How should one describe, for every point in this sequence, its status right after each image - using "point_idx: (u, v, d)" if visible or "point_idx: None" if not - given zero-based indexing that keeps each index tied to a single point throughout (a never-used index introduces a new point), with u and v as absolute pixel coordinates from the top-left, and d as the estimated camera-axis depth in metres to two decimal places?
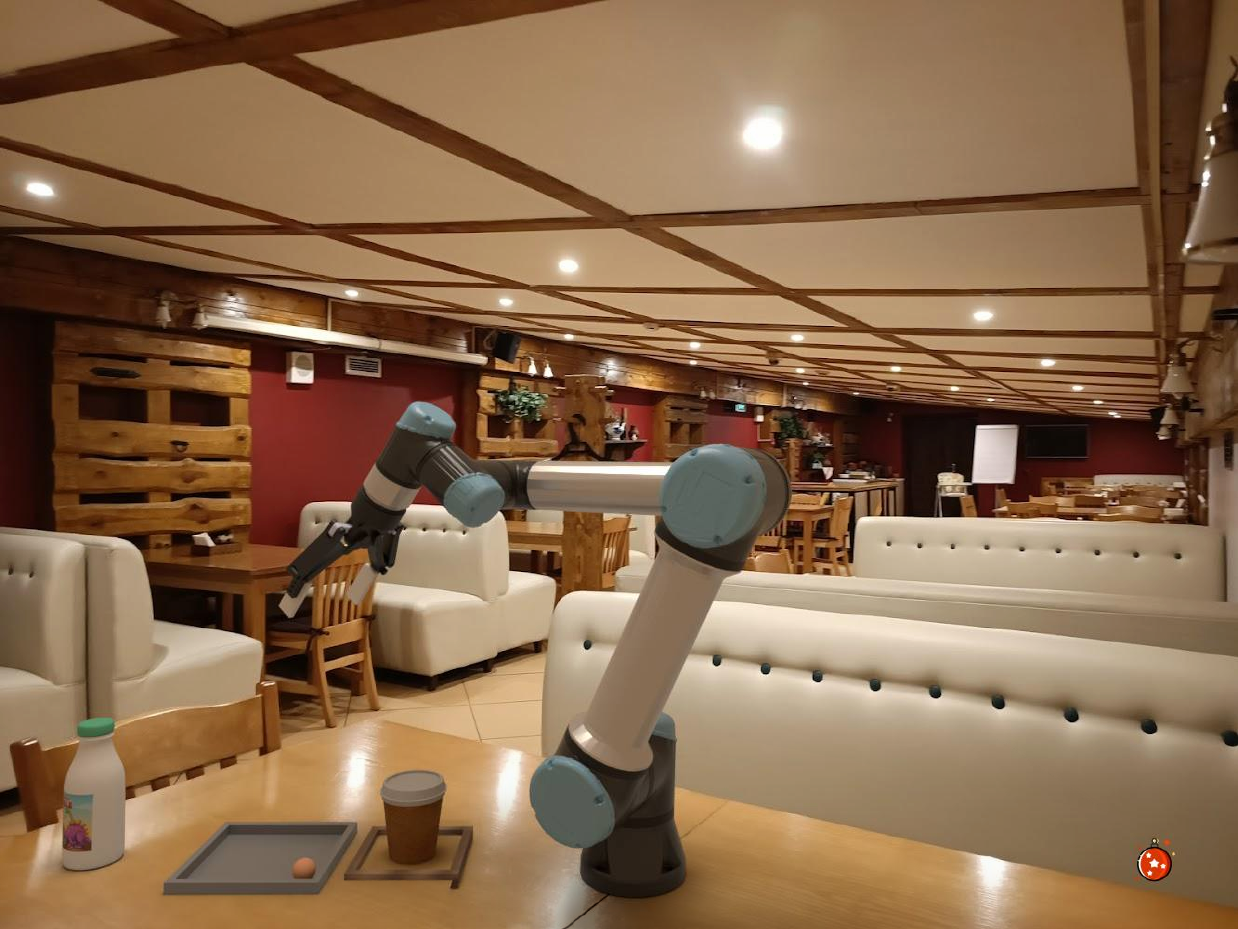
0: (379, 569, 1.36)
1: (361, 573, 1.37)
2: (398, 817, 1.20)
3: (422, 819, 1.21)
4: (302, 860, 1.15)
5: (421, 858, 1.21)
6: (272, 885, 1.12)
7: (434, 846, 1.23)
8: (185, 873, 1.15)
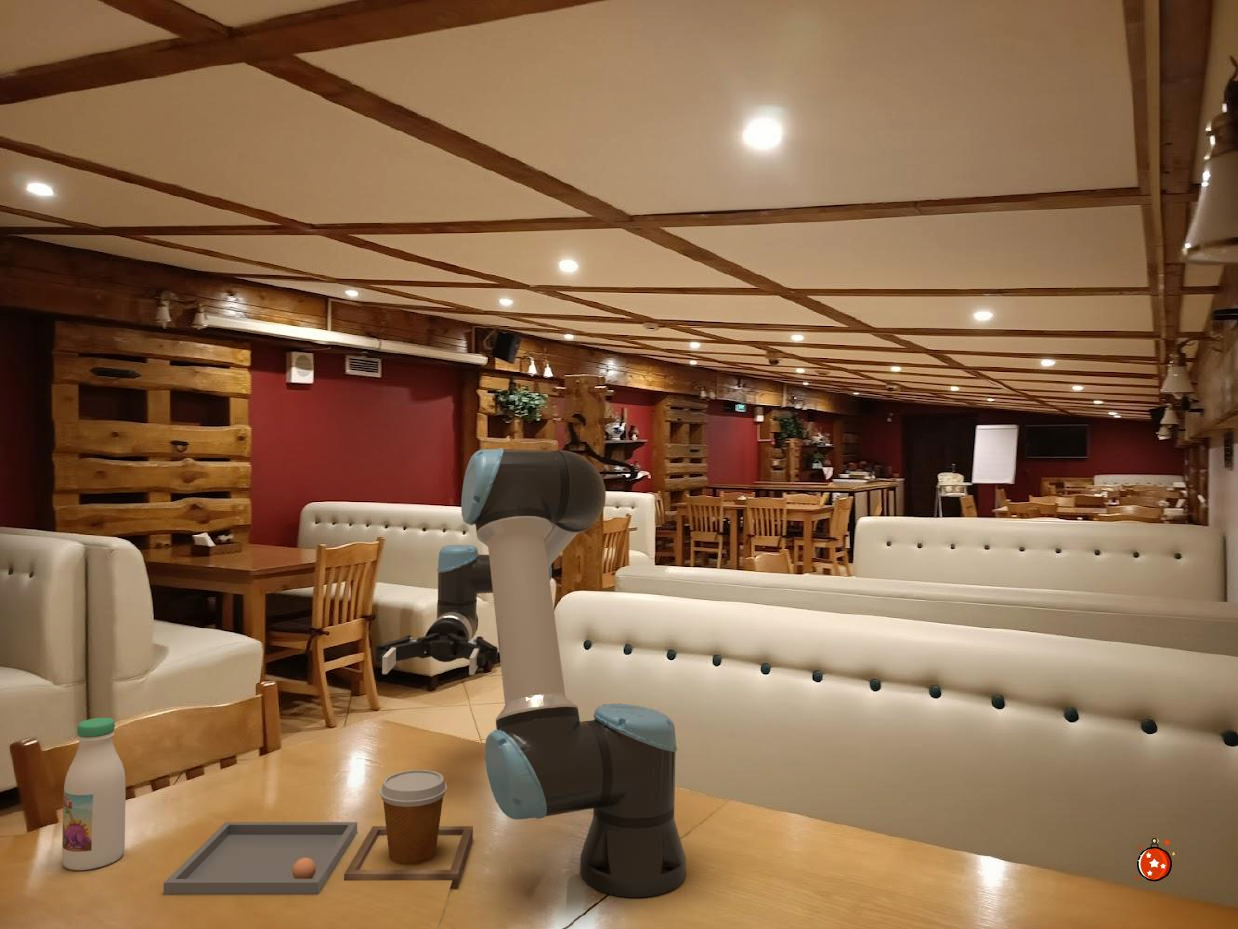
0: (479, 648, 1.42)
1: None
2: (398, 817, 1.20)
3: (422, 819, 1.21)
4: (302, 860, 1.15)
5: (421, 858, 1.21)
6: (272, 885, 1.12)
7: (434, 846, 1.23)
8: (185, 873, 1.15)
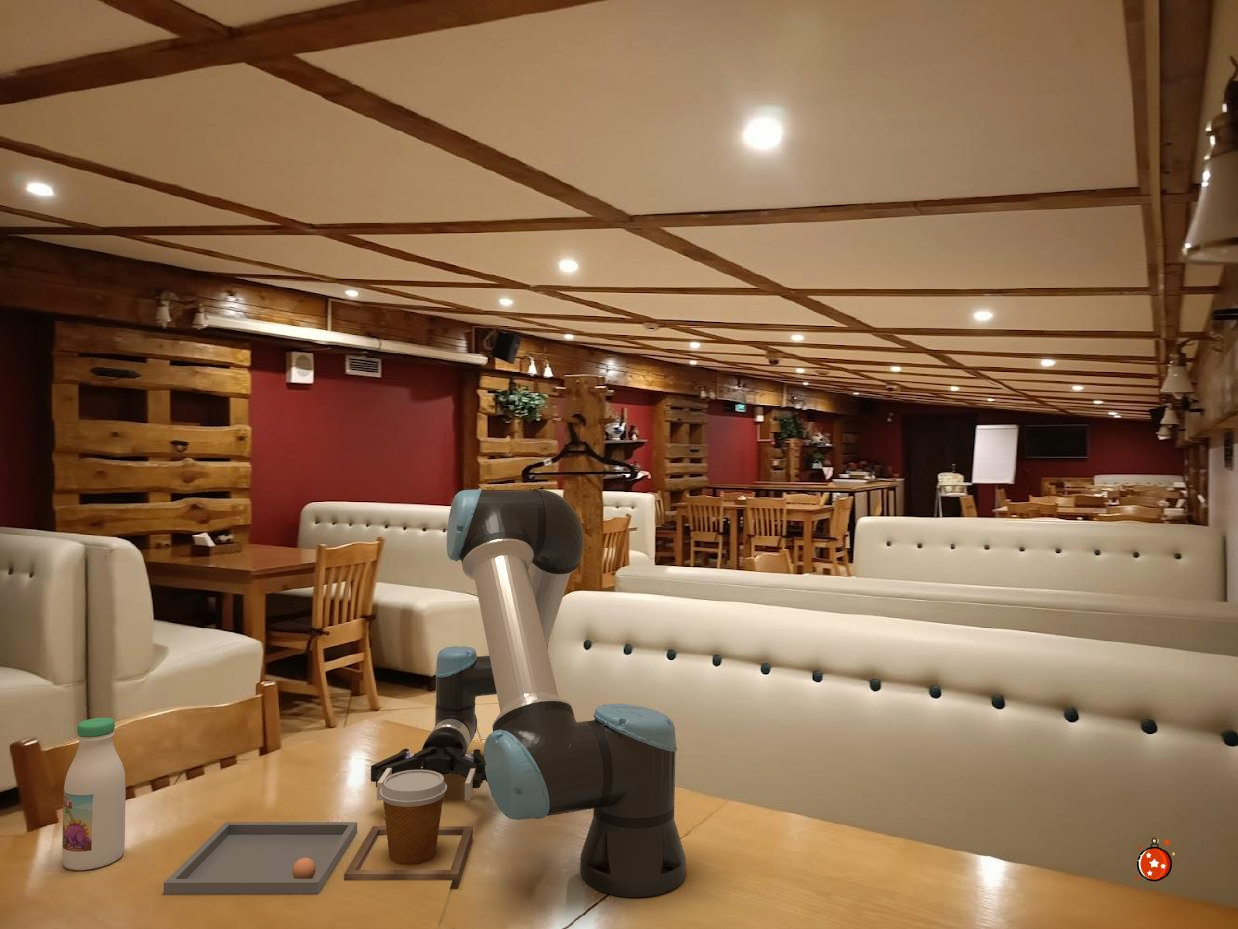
0: (475, 768, 1.40)
1: None
2: (398, 817, 1.20)
3: (422, 819, 1.21)
4: (302, 860, 1.15)
5: (421, 858, 1.21)
6: (272, 885, 1.12)
7: (434, 846, 1.23)
8: (185, 873, 1.15)
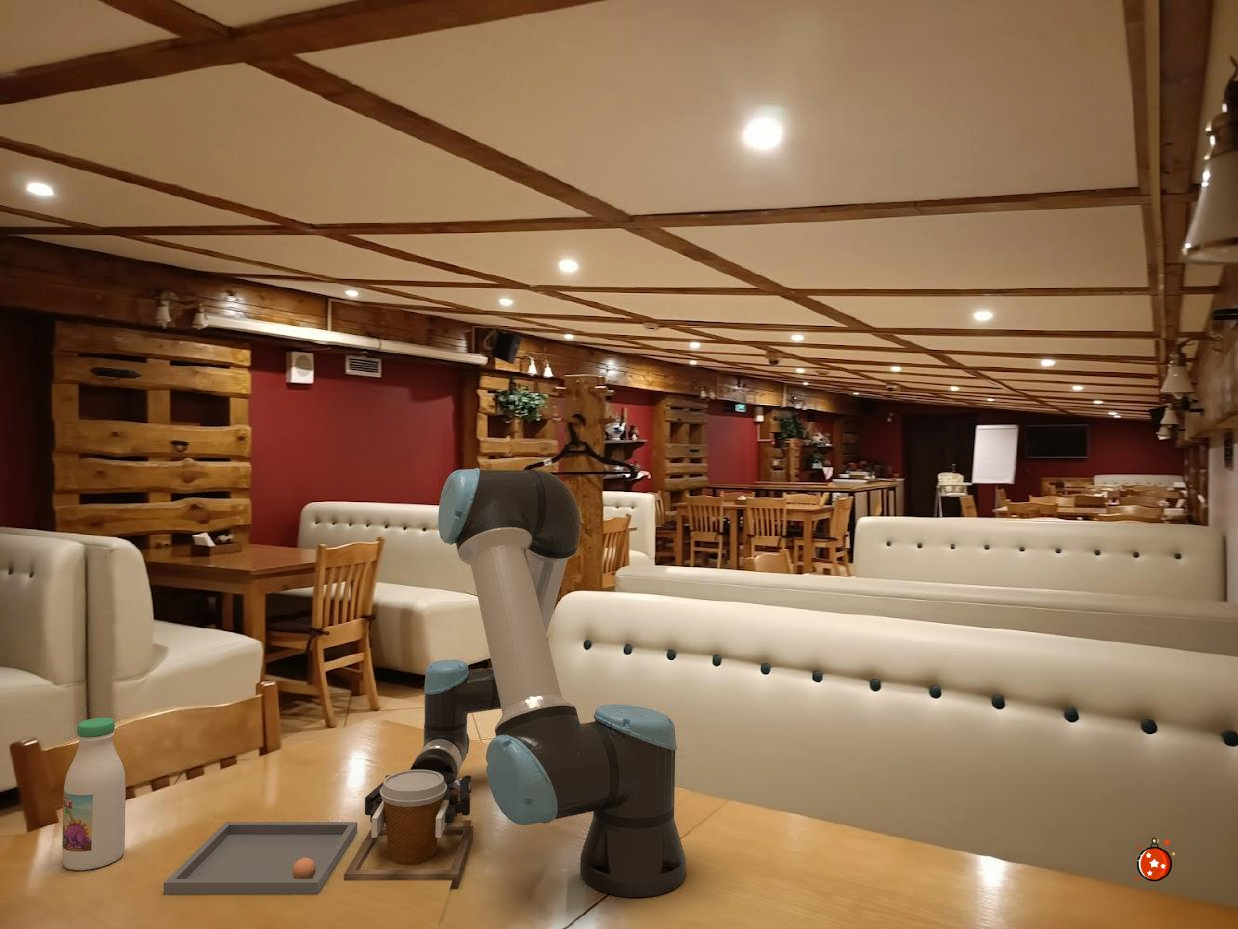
0: None
1: None
2: (397, 816, 1.20)
3: (422, 819, 1.21)
4: (302, 860, 1.15)
5: (421, 858, 1.21)
6: (272, 885, 1.12)
7: (434, 846, 1.23)
8: (185, 873, 1.15)
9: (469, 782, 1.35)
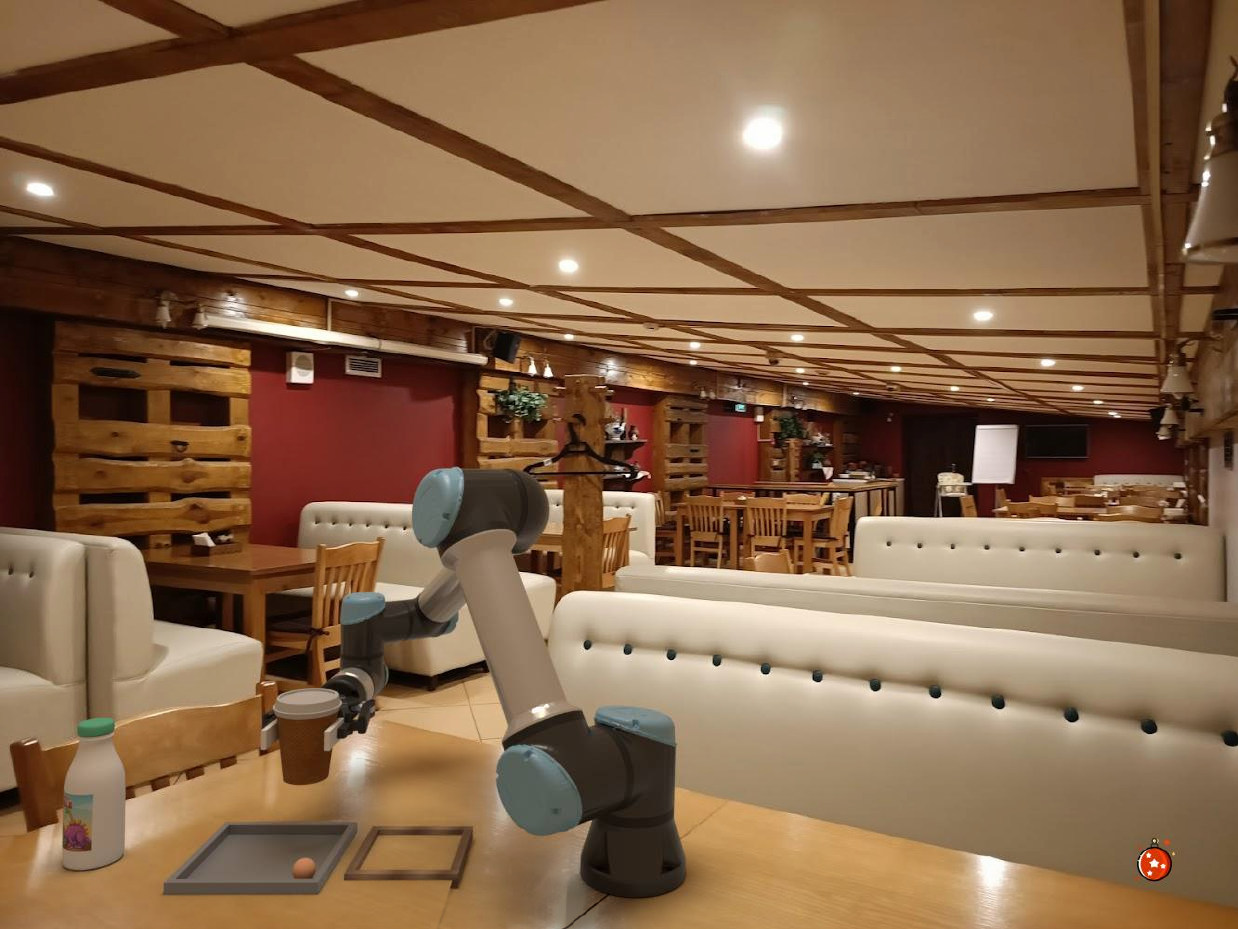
0: None
1: None
2: (288, 730, 1.21)
3: (312, 733, 1.22)
4: (302, 860, 1.15)
5: (312, 771, 1.22)
6: (272, 885, 1.12)
7: (327, 761, 1.24)
8: (185, 873, 1.15)
9: (372, 705, 1.36)
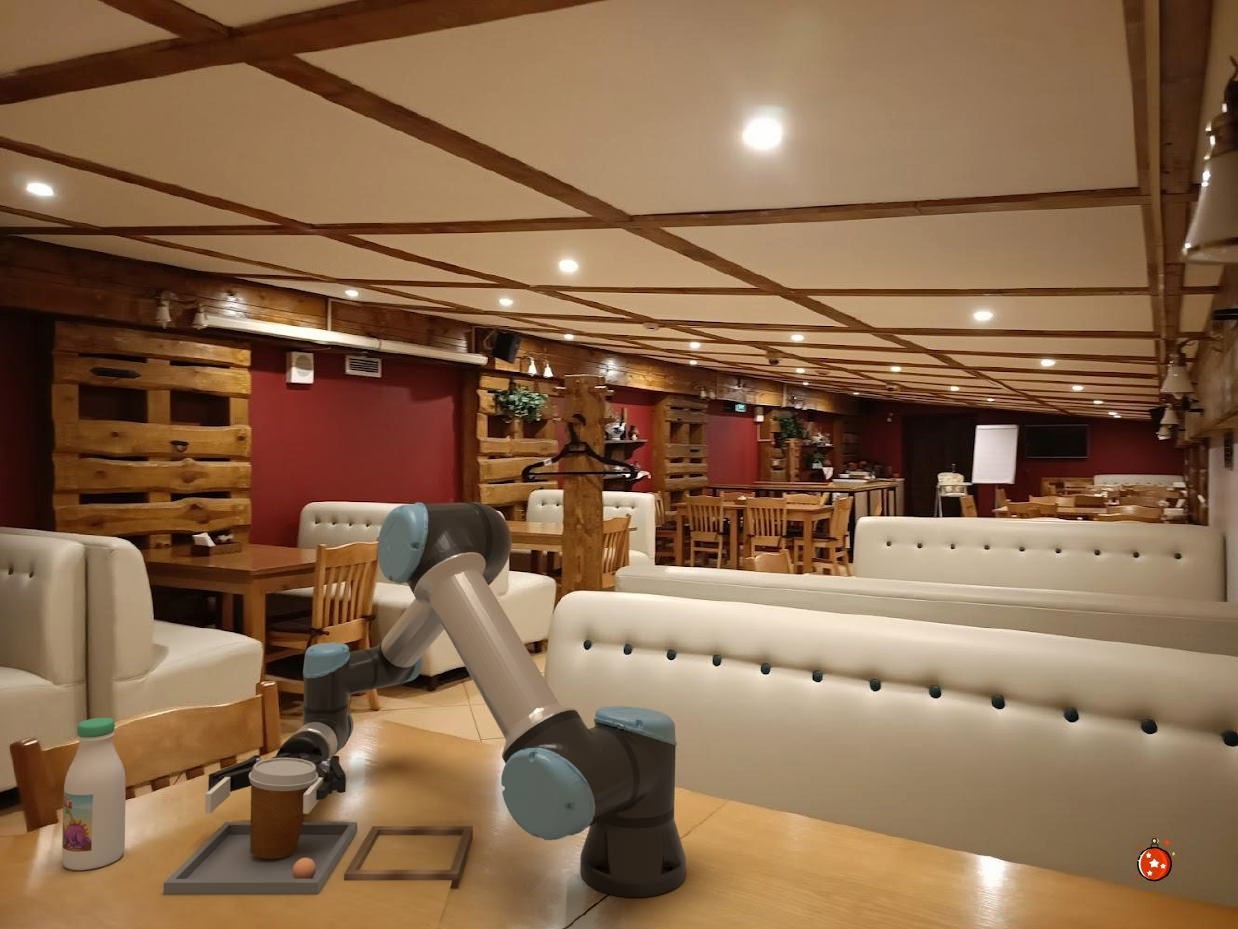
0: (324, 776, 1.27)
1: None
2: (261, 800, 1.20)
3: (285, 806, 1.21)
4: (302, 860, 1.15)
5: (280, 845, 1.21)
6: (272, 885, 1.12)
7: (296, 835, 1.23)
8: (185, 873, 1.15)
9: (338, 762, 1.35)
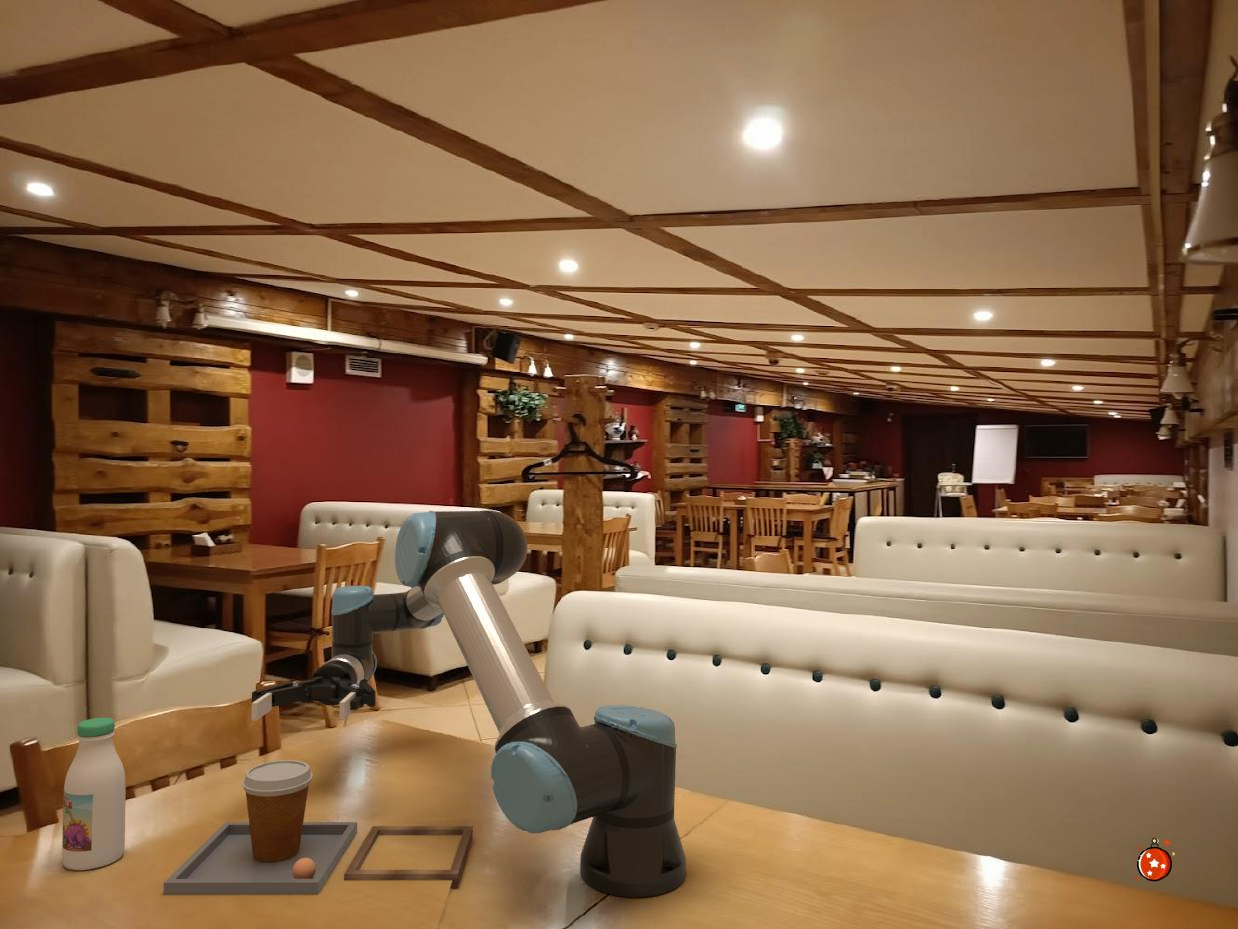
0: (356, 692, 1.41)
1: None
2: (257, 806, 1.20)
3: (282, 809, 1.20)
4: (302, 860, 1.15)
5: (282, 848, 1.21)
6: (272, 885, 1.12)
7: (297, 836, 1.23)
8: (185, 873, 1.15)
9: None
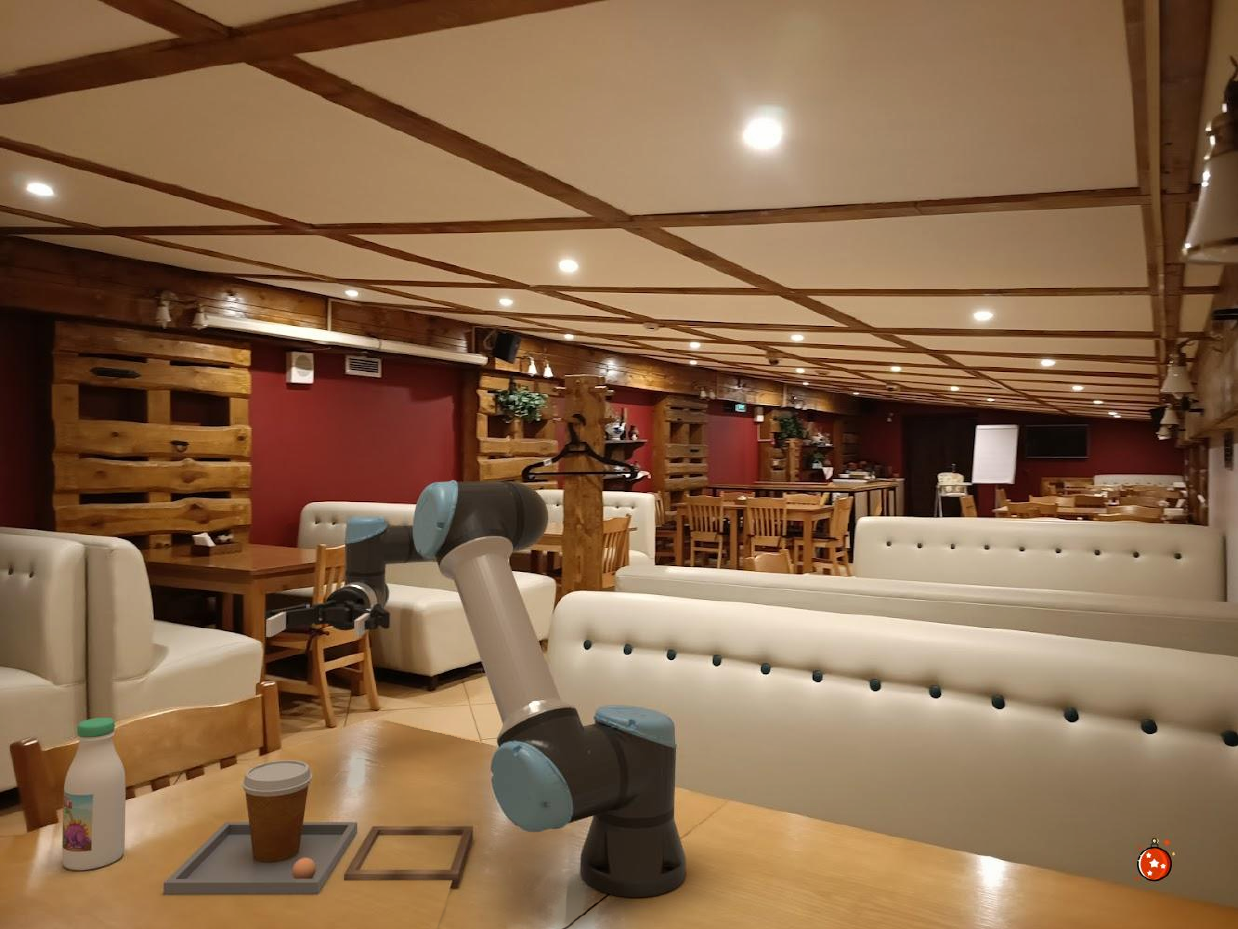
0: (370, 613, 1.41)
1: None
2: (257, 807, 1.20)
3: (282, 809, 1.20)
4: (302, 860, 1.15)
5: (282, 848, 1.21)
6: (272, 885, 1.12)
7: (297, 836, 1.23)
8: (185, 873, 1.15)
9: None
